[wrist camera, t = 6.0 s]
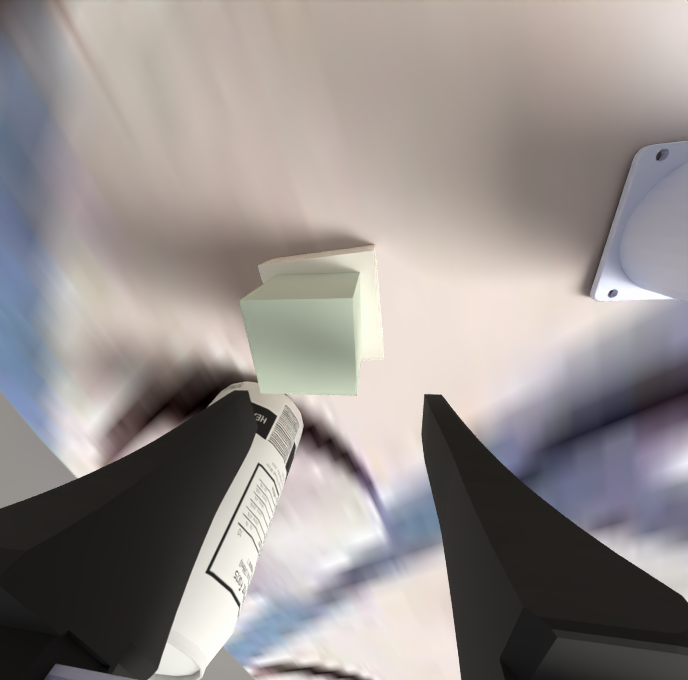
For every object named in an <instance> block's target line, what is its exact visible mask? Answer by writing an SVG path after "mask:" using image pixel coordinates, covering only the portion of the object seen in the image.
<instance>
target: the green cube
mask: <svg viewBox="0 0 688 680" xmlns="http://www.w3.org/2000/svg"><path fill="white" fill-rule="evenodd" d="M239 303H240V307H241V312H242V316H243V320H244V324H245V329H246V333H247V337H248V341H249V346H250V350H251V354H252V358H253V363H254V367H255V371H256V375H257V380H258V384H259V388H260V392H261V393H269V394H309V395H349V396H357V391H358V382H359V373H360V364H361V355H362V324H361V291H360V272H351V273H321V274H291V275H276V276H275V277H273V278H272V279H270V280H269V281H267V282H266V283H264V284H263V285H261V286H260V287H258V288H257V289H255V290H254V291H252V292H251V293H249V294H248V295H246V296H245V297H243V298H242V299H240V300H239Z"/></svg>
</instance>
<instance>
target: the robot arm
mask: <svg viewBox="0 0 688 680" xmlns="http://www.w3.org/2000/svg"><path fill="white" fill-rule="evenodd" d="M659 151H661V153H662V154H661V157H660V159H659V160H658V161H657V160H656V155H657V154H658V152H659ZM611 290H613V292H612V294H610V295H608V293H609V291H611ZM590 297H591V298H592V299H593V300H595V301H599V302H604V301H633V300H662V299H677V300H681V301H684V302H687V303H688V141H680V142H671V143H662V144H653V145H649V146H645V147H643V148H642V149H640V150H639V151H638V152H637V153H636V154H635V156H634V158H633V161H632V164H631V167H630V171H629V174H628V177H627V180H626V183H625V186H624V189H623V192H622V195H621V199H620V202H619V205H618V208H617V211H616V214H615V217H614V220H613V223H612V227H611V230H610V233H609V236H608V239H607V242H606V245H605V248H604V251H603V255H602V258H601V261H600V264H599V267H598V270H597V273H596V276H595V279H594V283H593V286H592V289H591V292H590ZM257 429H258V425H257V422H256V418H255V414H254V411H253V407H252V403H251V400H250V396H249V392H248V390H234V391H232V392H231V393H229V394H227V395H226V396H224V397H222V398H221V399H219V400H218V401H216V402H215V403H213V404H212V405H210V406H209V407H207V408H206V409H204V410H203V411H201V412H200V413H198V414H197V415H195V416H194V417H192V418H191V419H189V420H187V421H186V422H184V423H183V424H181V425H179V426H178V427H176V428H175V429H173V430H171V431H170V432H168V433H166V434H165V435H163V436H162V437H160V438H158V439H157V440H155V441H153V442H151V443H150V444H148V445H146V446H144V447H142V448H140V449H139V450H137V451H135V452H133V453H131V454H129V455H127V456H125V457H123V458H121V459H119V460H117V461H115V462H113V463H111V464H109V465H107V466H104V467H102V468H100V469H98V470H96V471H94V472H92V473H90V474H87V475H85V476H83V477H81V478H78V479H76V480H74V481H71V482H69V483H67V484H64V485H62V486H59V487H57V488H54V489H52V490H49V491H47V492H44V493H42V494H39V495H37V496H34V497H31V498H29V499H26V500H24V501H20V502H18V503H15V504H12V505H9V506H7V507H4V508H1V509H0V680H148V679H149V678H150V677H151V676H153V674H154V673H155V672H156V671H157V670H158V667H159V664H160V661H161V658H162V655H163V652H164V649H165V646H166V643H167V640H168V637H169V634H170V631H171V628H172V625H173V622H174V619H175V616H176V613H177V610H178V607H179V605H180V602H181V599H182V597H183V594H184V591H185V588H186V586H187V583H188V580H189V577H190V575H191V572H192V570H193V567H194V565H195V562H196V560H197V557H198V555H199V552H200V550H201V547H202V545H203V542H204V540H205V538H206V535H207V533H208V531H209V528H210V526H211V524H212V521H213V519H214V517H215V514H216V512H217V510H218V508H219V506H220V504H221V502H222V500H223V499H224V497H225V495H226V493H227V491H228V489H229V488H230V486H231V484H232V482H233V480H234V478H235V477H236V475H237V473H238V471H239V469H240V467H241V465H242V464H243V462H244V460H245V458H246V456H247V454H248V452H249V450H250V448H251V445H252V443H253V440H254V437H255V435H256V432H257ZM421 435H422V443H423V452H424V459H425V464H426V468H427V473H428V477H429V481H430V485H431V490H432V494H433V498H434V502H435V506H436V511H437V515H438V519H439V524H440V529H441V534H442V539H443V546H444V553H445V560H446V566H447V573H448V580H449V588H450V595H451V602H452V609H453V617H454V625H455V632H456V640H457V648H458V656H459V664H460V672H461V680H688V602H687V601H686V600H685V599H684V597H683V596H682V595H680V594H679V593H677V592H675V591H674V590H672V589H671V588H669V587H668V586H666V585H665V584H663V583H662V582H660V581H658V580H657V579H655V578H654V577H652V576H651V575H649V574H648V573H646V572H645V571H643V570H641V569H640V568H638V567H637V566H635V565H634V564H632V563H631V562H629V561H628V560H626V559H624V558H623V557H621V556H620V555H618V554H617V553H615V552H614V551H612V550H611V549H609V548H608V547H607V546H605V545H604V544H602V543H601V542H600V541H598V540H597V539H595V538H594V537H592V536H591V535H590V534H588V533H587V532H585V531H584V530H583V529H581V528H580V527H578V526H577V525H576V524H574V523H573V522H572V521H570V520H569V519H568V518H566V517H565V516H564V515H562V514H561V513H560V512H559V511H557V510H556V509H555V508H553V507H552V506H551V505H550V504H548V503H547V502H546V501H545V500H543V499H542V498H541V497H539V496H538V495H537V494H536V493H534V492H533V491H532V490H531V489H530V488H528V487H527V486H526V485H525V484H524V483H523V482H521V481H520V480H519V479H518V478H517V477H516V476H515V475H514V474H513V473H511V472H510V471H509V470H508V469H507V468H506V467H505V466H504V465H503V464H502V463H501V462H500V461H499V460H498V459H497V458H496V457H495V456H494V455H493V454H492V453H491V452H490V451H489V450H488V449H487V448H486V447H485V446H484V445H483V444H482V443H481V442H480V441H479V440H478V438H477V437H476V436H475V435H474V434H473V433H472V432H471V430H470V429H469V428H468V427H467V426H466V425H465V424H464V422H463V421H462V420H461V419H460V418H459V416H458V415H457V414H456V413H455V411H454V410H453V409H452V408H451V406H450V405H449V404H448V402H447V401H446V400H445V398H444V397H443V396H442V395H433V394H424V408H423V421H422V434H421Z"/></svg>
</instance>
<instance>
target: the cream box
mask: <svg viewBox="0 0 688 680" xmlns="http://www.w3.org/2000/svg"><path fill="white" fill-rule="evenodd" d="M258 269H259V273H260V277H261V280H262V284H264V283H266V282H267V281H269V280H270V279H272V278H273V277H275V276H276V275H291V274H321V273H351V272H360V291H361V324H362V355H361V361H363V360H379V359H384V341H383V330H382V318H381V307H380V296H379V285H378V274H377V263H376V252H375V245H369V246H362V247H354V248H347V249H340V250H332V251H325V252H318V253H310V254H303V255H295V256H288V257H281V258H273V259H271V260H269V261H267V262H264V263H262V264H260V265H258Z"/></svg>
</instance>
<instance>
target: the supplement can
mask: <svg viewBox="0 0 688 680" xmlns="http://www.w3.org/2000/svg"><path fill="white" fill-rule="evenodd" d="M234 390H248V392H249V396H250V400H251V403H252V407H253V411H254V414H255V418H256V422H257V425H258V429H257V432H256V435H255V437H254V440H253V443H252V445H251V448H250V450H249V452H248V454H247V456H246V458H245V460H244V462H243V464H242V465H241V467H240V469H239V471H238V473H237V475H236V477H235V478H234V480H233V482H232V484H231V486H230V488H229V489H228V491H227V493H226V495H225V497H224V499H223V500H222V502H221V504H220V506H219V508H218V510H217V512H216V514H215V517H214V519H213V521H212V524H211V526H210V528H209V531H208V533H207V535H206V538H205V540H204V542H203V545H202V547H201V550H200V552H199V555H198V557H197V560H196V562H195V565H194V567H193V570H192V572H191V575H190V577H189V580H188V583H187V586H186V588H185V591H184V594H183V597H182V599H181V602H180V605H179V607H178V610H177V613H176V616H175V619H174V622H173V625H172V628H171V631H170V634H169V637H168V640H167V643H166V646H165V649H164V652H163V655H162V658H161V661H160V664H159V667H158V670H157V671H156V672H155V673H154V674H153V676H151V677H150V678H149V679H148V680H199V679H201V678H202V676H203V674H204V671H205V668H206V666H207V665H208V664H209V663H210V661H211V660H212V659H213V657H214V656H215V655H216V654H217V652H218V651H219V650H220V648H221V647H222V646H223V645H224V644H225V642H226V641H227V640H228V639H229V637H230V636H231V635H232V633H233V630H234V628H235V625H236V622H237V619H238V616H239V613H240V610H241V607H242V605H243V602H244V599H245V596H246V593H247V590H248V587H249V584H250V582H251V579H252V576H253V573H254V570H255V567H256V564H257V561H258V559H259V556H260V553H261V550H262V547H263V544H264V541H265V539H266V536H267V533H268V530H269V527H270V524H271V521H272V518H273V516H274V513H275V510H276V507H277V504H278V501H279V498H280V495H281V493H282V490H283V487H284V484H285V481H286V478H287V475H288V472H289V470H290V467H291V464H292V461H293V458H294V455H295V452H296V450H297V447H298V444H299V441H300V438H301V434H302V430H303V422H302V417H301V413H300V412H299V410H298V409H297V407H296V406H295V404H294V403H293V401H292V400H291V399H290V398H288V397H287V396H286V395H285V394H269V393H261V392H260V388H259V384H258V383H255V382H248V381H246V382H241V383H235V384H231V385H230V386H228V387H227V388H225V389H224V390H222V391H221V392H220V393H219V394H218V395H217V397H216V398H215V399H214V400H213V401H212V402H211V403H210V405H212V404H213V403H215V402H216V401H218V400H219V399H221V398H222V397H224V396H226V395H227V394H229V393H231V392H232V391H234ZM210 405H209V406H210ZM209 406H208V407H209Z"/></svg>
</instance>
